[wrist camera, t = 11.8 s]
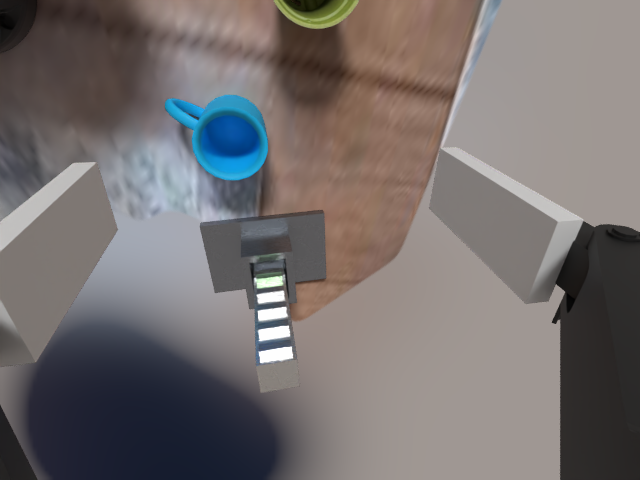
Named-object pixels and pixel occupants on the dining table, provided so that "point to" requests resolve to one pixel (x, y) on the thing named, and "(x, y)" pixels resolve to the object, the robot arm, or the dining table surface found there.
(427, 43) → the dining table surface
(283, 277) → the column
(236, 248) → the stand
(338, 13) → the plant pot
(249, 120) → the mug
